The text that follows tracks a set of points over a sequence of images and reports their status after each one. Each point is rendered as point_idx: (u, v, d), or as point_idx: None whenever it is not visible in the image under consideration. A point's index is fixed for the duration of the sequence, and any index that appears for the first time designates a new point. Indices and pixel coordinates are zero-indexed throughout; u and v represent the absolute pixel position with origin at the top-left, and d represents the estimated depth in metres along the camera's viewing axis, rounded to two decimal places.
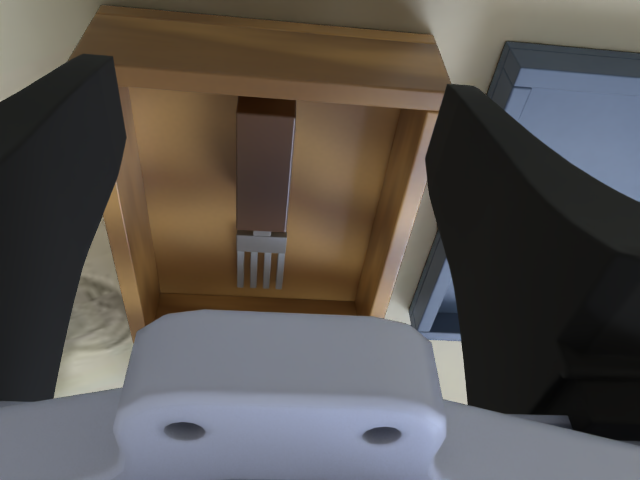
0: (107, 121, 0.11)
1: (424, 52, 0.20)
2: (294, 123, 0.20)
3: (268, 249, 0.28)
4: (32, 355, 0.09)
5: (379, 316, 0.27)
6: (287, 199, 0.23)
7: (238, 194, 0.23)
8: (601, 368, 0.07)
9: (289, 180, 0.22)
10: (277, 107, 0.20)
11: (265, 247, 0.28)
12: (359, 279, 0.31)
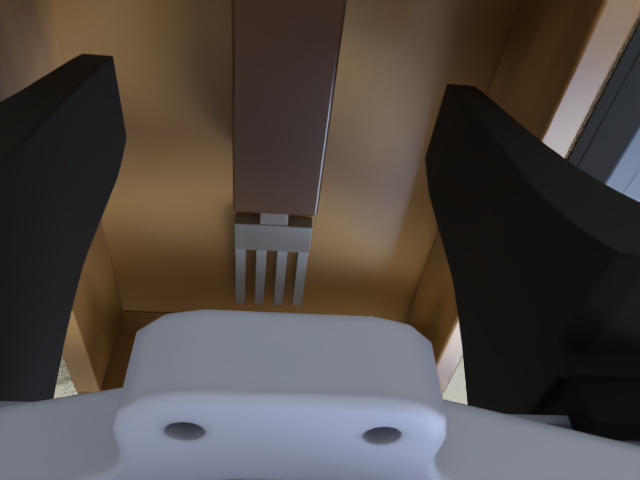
0: (107, 121, 0.11)
1: None
2: None
3: (283, 246, 0.18)
4: (32, 355, 0.09)
5: (457, 350, 0.18)
6: (322, 156, 0.13)
7: (237, 146, 0.13)
8: (601, 368, 0.07)
9: (328, 119, 0.12)
10: None
11: (278, 243, 0.18)
12: (415, 291, 0.21)
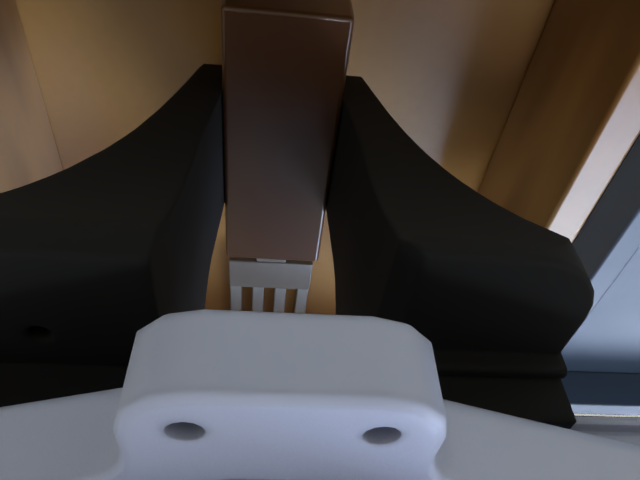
0: None
1: None
2: (349, 34, 0.09)
3: (281, 283, 0.17)
4: None
5: None
6: (324, 200, 0.12)
7: (229, 191, 0.12)
8: None
9: (330, 163, 0.11)
10: (312, 1, 0.09)
11: (276, 280, 0.17)
12: None
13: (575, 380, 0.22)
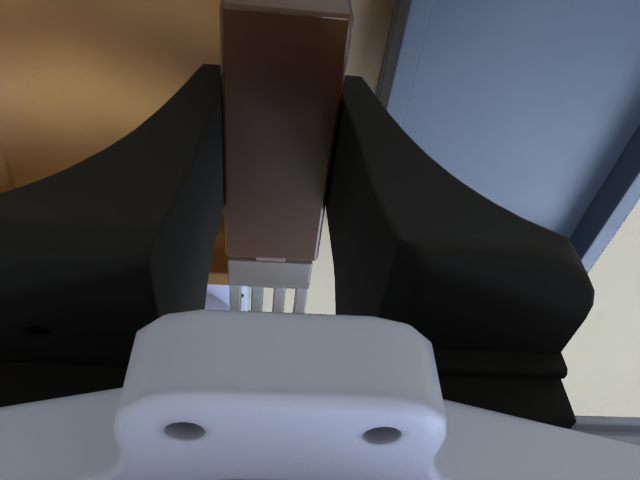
0: None
1: None
2: (348, 32, 0.09)
3: (281, 282, 0.17)
4: None
5: None
6: (323, 199, 0.12)
7: (228, 189, 0.12)
8: None
9: (329, 161, 0.11)
10: None
11: (276, 279, 0.17)
12: None
13: None
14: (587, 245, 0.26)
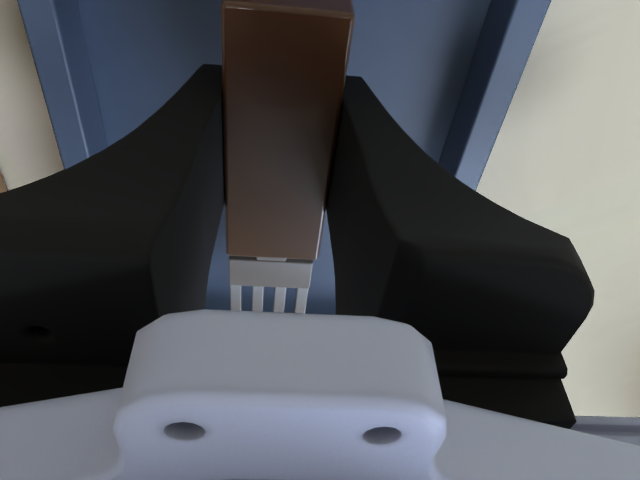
0: None
1: None
2: (350, 31, 0.09)
3: (281, 282, 0.17)
4: None
5: None
6: (324, 198, 0.12)
7: (229, 189, 0.12)
8: None
9: (330, 160, 0.11)
10: None
11: (276, 279, 0.17)
12: None
13: None
14: None
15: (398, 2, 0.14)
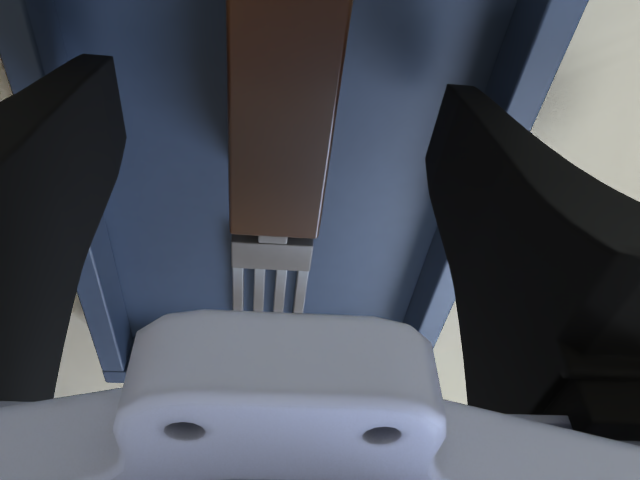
0: (107, 121, 0.11)
1: None
2: (348, 12, 0.10)
3: (282, 264, 0.18)
4: (32, 355, 0.09)
5: None
6: (324, 177, 0.12)
7: (232, 167, 0.12)
8: (601, 368, 0.07)
9: (330, 140, 0.12)
10: None
11: (278, 261, 0.17)
12: None
13: None
14: None
15: (408, 27, 0.13)
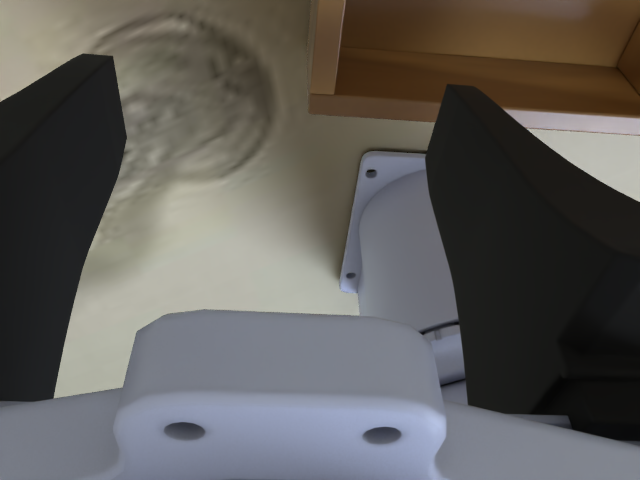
0: (107, 121, 0.11)
1: None
2: None
3: None
4: (32, 355, 0.09)
5: None
6: None
7: None
8: (601, 368, 0.07)
9: None
10: None
11: None
12: None
13: None
14: None
15: None
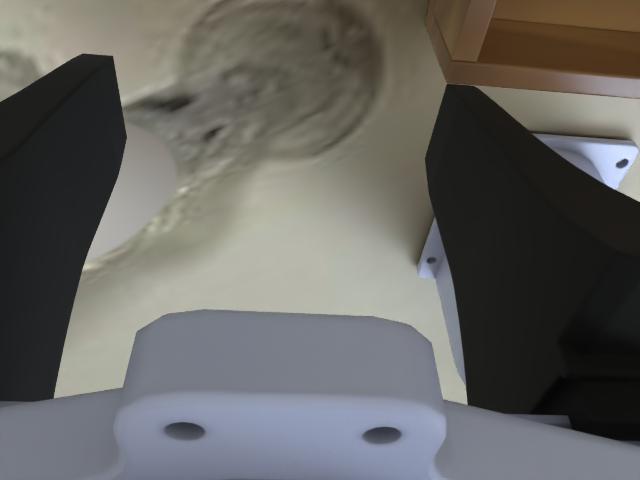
0: (107, 121, 0.11)
1: None
2: None
3: None
4: (32, 355, 0.09)
5: None
6: None
7: None
8: (601, 368, 0.07)
9: None
10: None
11: None
12: None
13: None
14: None
15: None
